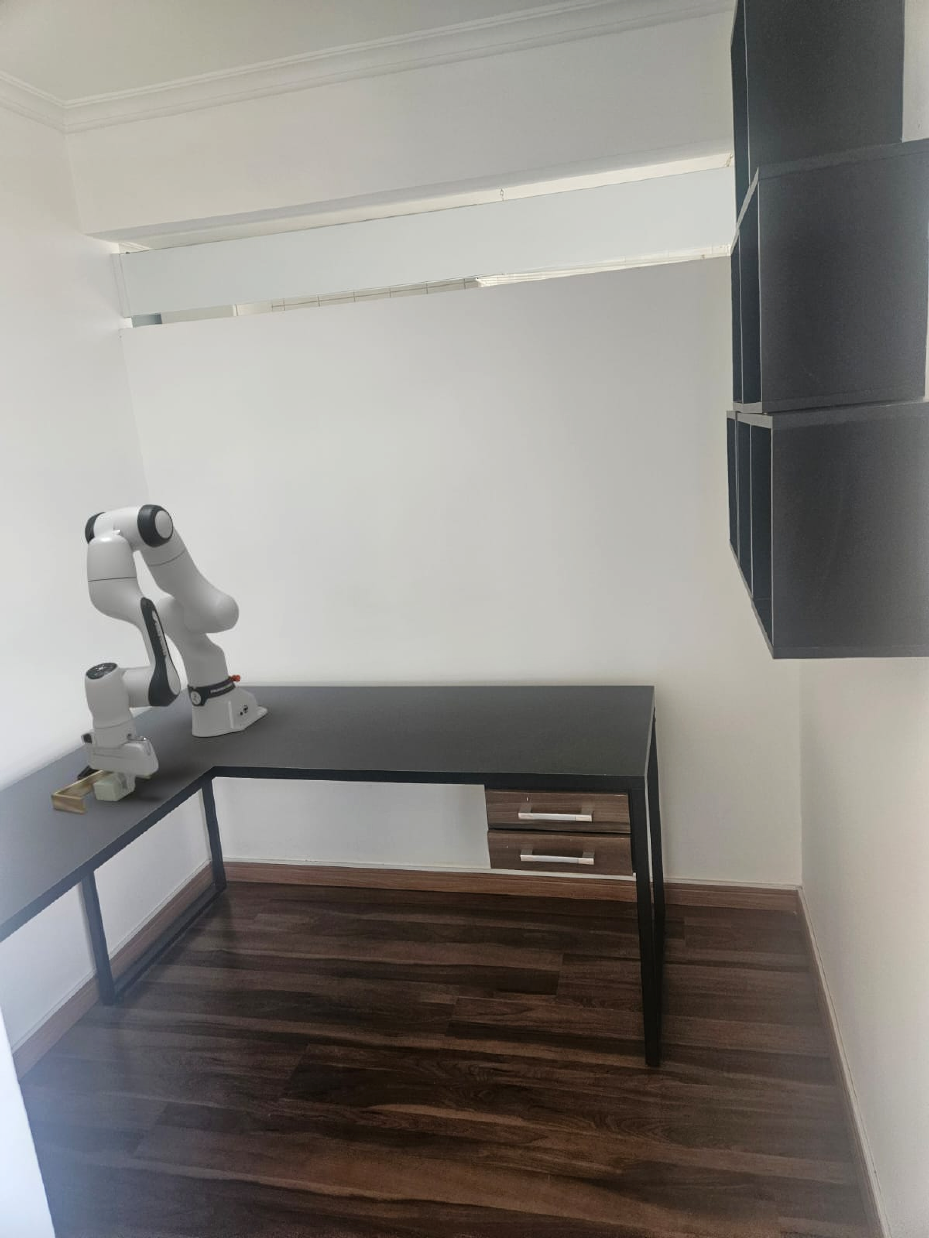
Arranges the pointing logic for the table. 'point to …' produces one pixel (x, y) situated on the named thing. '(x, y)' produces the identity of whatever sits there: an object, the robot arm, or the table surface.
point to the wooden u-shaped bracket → (79, 792)
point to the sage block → (110, 789)
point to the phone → (86, 772)
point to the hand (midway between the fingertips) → (128, 788)
